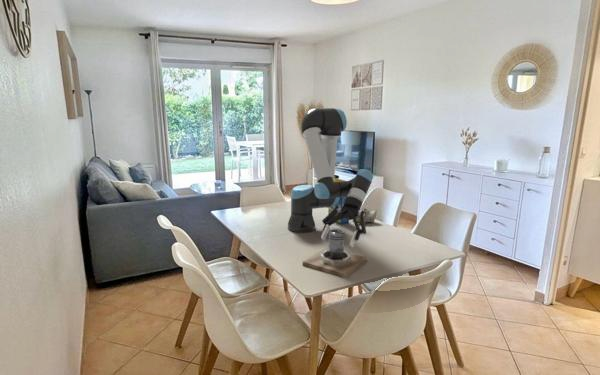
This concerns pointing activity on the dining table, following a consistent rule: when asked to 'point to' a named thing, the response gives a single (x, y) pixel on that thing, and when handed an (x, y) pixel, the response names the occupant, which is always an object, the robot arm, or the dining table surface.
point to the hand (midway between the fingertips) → (336, 242)
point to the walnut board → (337, 270)
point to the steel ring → (335, 262)
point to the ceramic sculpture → (367, 216)
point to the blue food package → (339, 204)
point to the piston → (336, 245)
